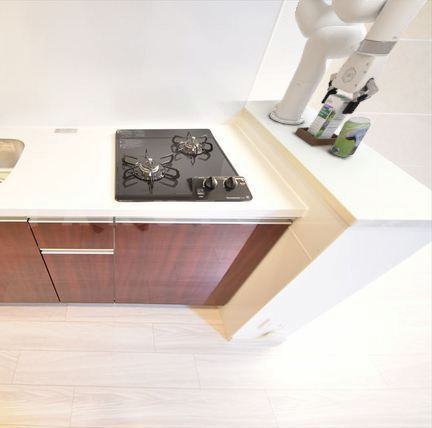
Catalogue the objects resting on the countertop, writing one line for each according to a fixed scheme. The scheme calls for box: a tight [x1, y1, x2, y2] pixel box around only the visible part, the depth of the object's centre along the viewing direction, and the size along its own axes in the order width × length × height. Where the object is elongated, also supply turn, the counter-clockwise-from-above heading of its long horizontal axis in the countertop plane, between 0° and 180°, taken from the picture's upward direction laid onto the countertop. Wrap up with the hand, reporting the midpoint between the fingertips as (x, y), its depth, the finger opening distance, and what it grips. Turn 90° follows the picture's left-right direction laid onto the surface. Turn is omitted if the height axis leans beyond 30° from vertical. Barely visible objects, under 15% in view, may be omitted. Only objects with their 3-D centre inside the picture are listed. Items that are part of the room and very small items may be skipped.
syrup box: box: [307, 93, 353, 139], centre depth 81 cm, size 6×6×14 cm
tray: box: [294, 126, 339, 147], centre depth 86 cm, size 10×10×2 cm
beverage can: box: [330, 116, 371, 157], centre depth 75 cm, size 6×7×12 cm
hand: (335, 108), depth 79 cm, fingers open, 9 cm apart
